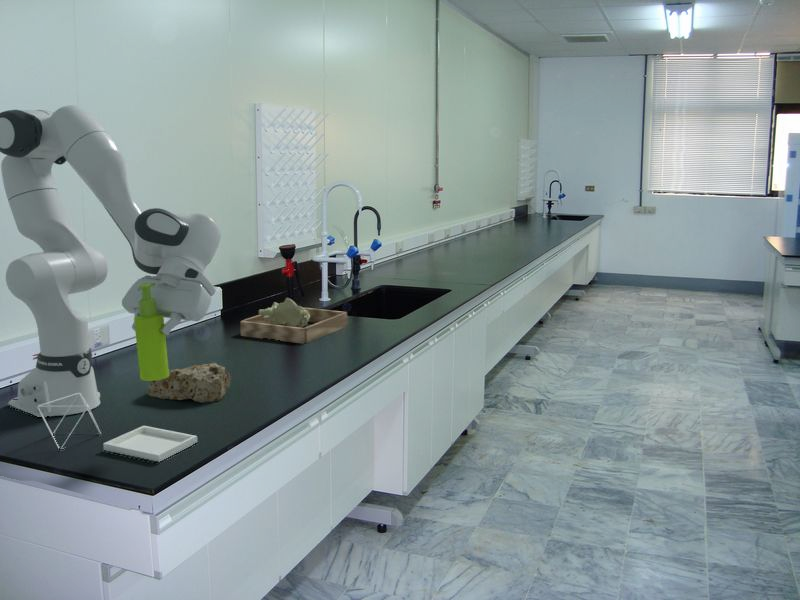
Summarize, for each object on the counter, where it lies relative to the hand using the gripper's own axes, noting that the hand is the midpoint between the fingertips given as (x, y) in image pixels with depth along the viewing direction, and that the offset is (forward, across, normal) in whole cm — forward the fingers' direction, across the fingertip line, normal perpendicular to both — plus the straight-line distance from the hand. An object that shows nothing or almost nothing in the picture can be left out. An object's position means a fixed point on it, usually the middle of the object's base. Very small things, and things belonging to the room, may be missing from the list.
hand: (149, 331), depth 161 cm
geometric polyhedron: (+22, -19, +14) cm, 32 cm away
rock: (-4, -16, +41) cm, 44 cm away
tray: (+19, 0, +17) cm, 25 cm away
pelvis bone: (-57, -33, +93) cm, 114 cm away
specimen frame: (-57, -30, +93) cm, 113 cm away
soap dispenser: (+7, 0, +8) cm, 10 cm away
